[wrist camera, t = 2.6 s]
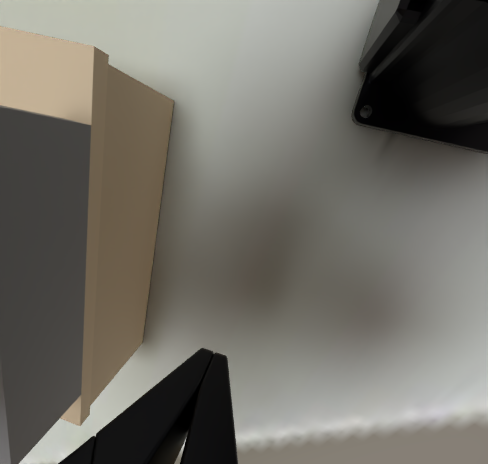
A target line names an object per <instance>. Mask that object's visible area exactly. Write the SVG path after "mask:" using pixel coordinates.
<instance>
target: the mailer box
mask: <svg viewBox="0 0 488 464" xmlns="http://www.w3.org/2000/svg"><path fill="white" fill-rule="evenodd" d="M173 105H174V101H173V100H171V99H170V98H168V97H166V96H164V95H162V94H161V93H159V92H157V91H155V90H153V89H152V88H150V87H148V86H146V85H144V84H143V83H141V82H139V81H137V80H136V79H134V78H132V77H130V76H128V75H127V74H125V73H123V72H121V71H119V70H118V69H116V68H114V67H112V66H110V65H109V64H108V76H107V95H106V113H105V132H104V151H103V170H102V189H101V208H100V227H99V246H98V265H97V284H96V302H95V321H94V340H93V359H92V378H91V397H90V405H91V404H92V403H93V402H94V401H95V399H96V398H97V397H98V396H99V395H100V393H101V392H102V391H103V390H104V388H105V387H106V386H107V385H108V384H109V382H110V381H111V380H112V379H113V378H114V376H115V375H116V374H117V373H118V372H119V370H120V369H121V368H122V367H123V366H124V364H125V363H126V362H127V361H128V359H129V358H130V357H131V356H132V355H133V353H134V352H135V351H136V350H137V349H138V347H139V346H140V345H141V344H142V342H143V334H144V327H145V319H146V311H147V304H148V296H149V289H150V281H151V273H152V266H153V258H154V250H155V243H156V235H157V227H158V220H159V212H160V204H161V197H162V189H163V181H164V174H165V166H166V159H167V151H168V143H169V136H170V128H171V120H172V113H173Z"/></svg>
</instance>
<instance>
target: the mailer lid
mask: <svg viewBox="0 0 488 464" xmlns="http://www.w3.org/2000/svg"><path fill="white" fill-rule="evenodd" d="M108 57H109V55H107V54H106V53H104V52H103V51H101V50H99V49H98V48H96V47H94V46H90V45H86V44H81V43H76V42H72V41H67V40H62V39H57V38H53V37H48V36H43V35H39V34H34V33H29V32H25V31H20V30H15V29H11V28H6V27H1V26H0V464H19V463H20V461H21V460H22V459H23V458H24V457H25V456H26V455H27V454H28V453H29V452H30V450H31V449H32V448H33V447H34V446H35V445H36V444H37V443H38V442H39V441H40V439H41V438H42V437H43V436H44V435H45V434H46V433H47V432H48V431H49V429H50V428H51V427H52V426H53V425H54V424H55V423H56V422H57V421H58V420H59V418H61V419H63V420H66V421H68V422H71V423H73V424H76V425H78V426H81V425H82V423H83V422H84V421H85V420H86V418H87V417H88V416H89V415H90V397H91V378H92V359H93V340H94V321H95V302H96V284H97V265H98V246H99V227H100V208H101V189H102V170H103V151H104V132H105V113H106V95H107V76H108Z"/></svg>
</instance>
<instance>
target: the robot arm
mask: <svg viewBox="0 0 488 464" xmlns="http://www.w3.org/2000/svg"><path fill="white" fill-rule="evenodd" d="M359 67H360V70H361V71H362V72H365V75H364V78H363V81H362V84H361V87H360V90H359V93H358V96H357V99H356V102H355V105H354V108H353V110H352V119H353V121H354V122H355V123H356V124H358V125H361V126H365V127H370V128H374V129H379V130H383V131H388V132H392V133H397V134H401V135H406V136H410V137H415V138H419V139H424V140H428V141H433V142H437V143H441V144H446V145H450V146H455V147H459V148H464V149H468V150H473V151H477V152H482V153H488V0H380V1H379V4H378V7H377V10H376V13H375V16H374V19H373V22H372V25H371V28H370V31H369V34H368V37H367V40H366V43H365V46H364V49H363V52H362V55H361V58H360V61H359ZM363 107H366V108H367V109H368V110H369V116H368V117H367V118H363V117H361V115H360V110H361V108H363ZM186 437H187V438H186ZM185 439H186V442H185V446H184V450H183V454H182V458H181V462H180V464H238V458H237V448H236V438H235V429H234V419H233V409H232V399H231V389H230V379H229V369H228V360H227V357H226V356H225V355H222V354H219V353H213V351H210V350H207V349H205V348H201V349H200V350H198V351H197V352H196V353H195V354H193V355H192V356H191V357H190V358H189V359H187V360H186V361H185V362H184V363H182V364H181V365H180V366H179V367H177V368H176V369H175V370H174V371H173V372H171V373H170V374H169V375H168V376H166V377H165V378H164V379H163V380H161V381H160V382H159V383H158V384H157V385H155V386H154V387H153V388H152V389H150V390H149V391H148V392H147V393H145V394H144V395H143V396H142V397H141V398H139V399H138V400H137V401H136V402H134V403H133V404H132V405H131V406H130V407H128V408H127V409H126V410H125V411H123V412H122V413H121V414H120V415H118V416H117V417H116V418H115V419H114V420H112V421H111V422H110V423H109V424H107V425H106V426H105V427H104V428H102V429H101V430H100V431H99V432H98V433H97V434H96V437H95V436H92V437H91V438H90V439H89V440H87V441H86V442H85V443H84V444H83V445H81V446H80V447H79V448H78V449H76V450H75V451H74V452H73V453H71V454H70V455H69V456H67V457H66V458H65V459H64V460H62V461H61V462H60V463H58V464H174V463H175V461H176V459H177V457H178V455H179V452H180V450H181V448H182V446H183V444H184V441H185Z"/></svg>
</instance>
